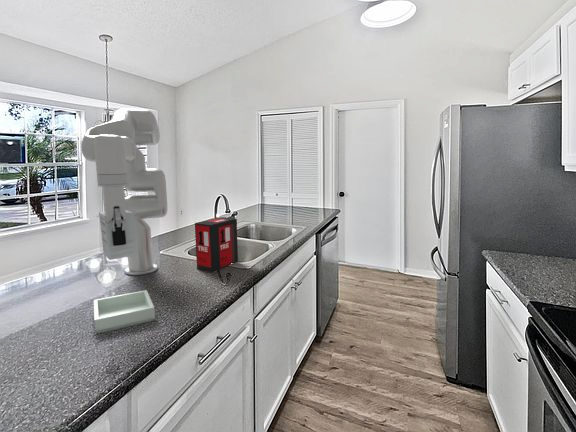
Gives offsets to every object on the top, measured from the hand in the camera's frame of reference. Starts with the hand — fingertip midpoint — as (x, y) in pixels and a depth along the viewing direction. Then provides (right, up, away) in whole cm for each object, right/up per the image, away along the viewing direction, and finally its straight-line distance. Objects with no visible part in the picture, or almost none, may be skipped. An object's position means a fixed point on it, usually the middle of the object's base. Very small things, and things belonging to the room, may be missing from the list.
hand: (118, 241), depth 96 cm
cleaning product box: (+18, -15, +51) cm, 56 cm away
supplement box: (0, -4, +1) cm, 4 cm away
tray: (0, -23, +4) cm, 23 cm away
